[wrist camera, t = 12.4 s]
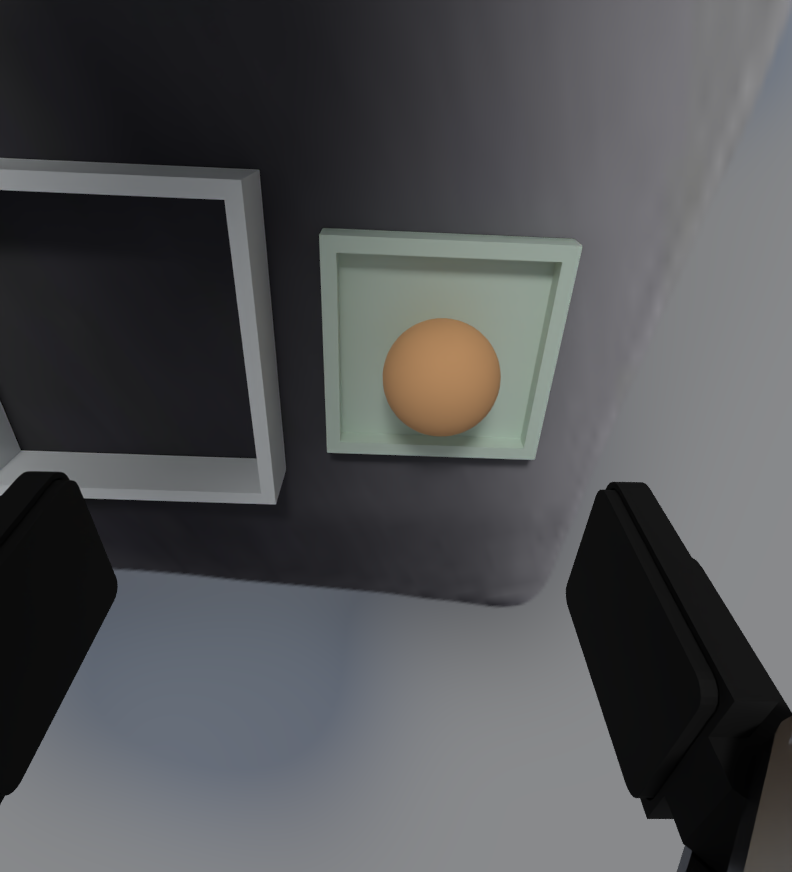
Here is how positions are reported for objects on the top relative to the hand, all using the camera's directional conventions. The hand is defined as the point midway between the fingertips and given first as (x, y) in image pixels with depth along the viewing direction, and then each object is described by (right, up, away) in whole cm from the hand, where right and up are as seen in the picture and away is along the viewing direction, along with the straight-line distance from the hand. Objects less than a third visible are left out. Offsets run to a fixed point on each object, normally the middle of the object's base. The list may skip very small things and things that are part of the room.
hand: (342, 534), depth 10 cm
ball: (+3, +5, +17) cm, 18 cm away
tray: (+3, +7, +20) cm, 21 cm away
